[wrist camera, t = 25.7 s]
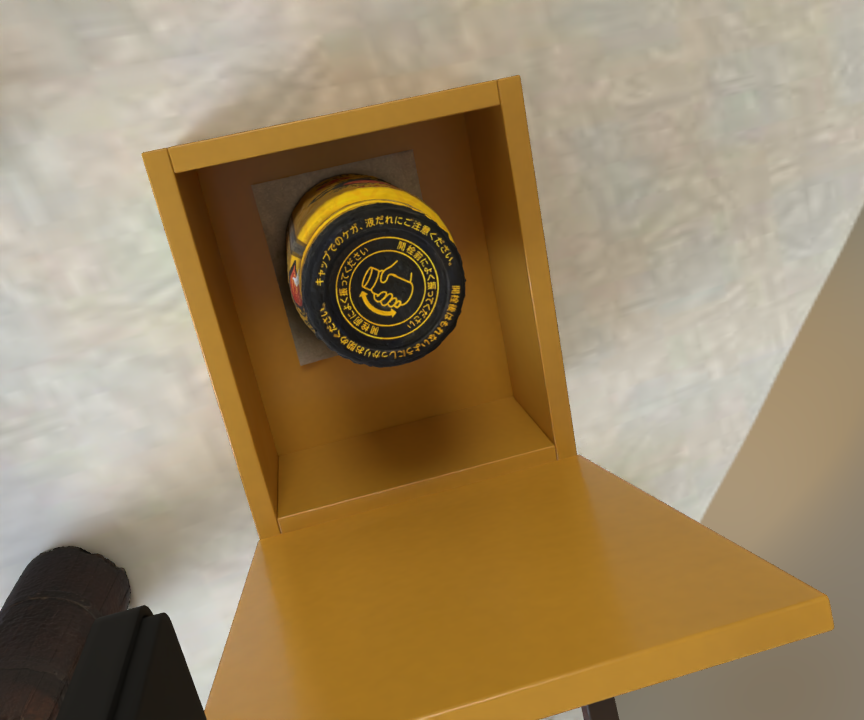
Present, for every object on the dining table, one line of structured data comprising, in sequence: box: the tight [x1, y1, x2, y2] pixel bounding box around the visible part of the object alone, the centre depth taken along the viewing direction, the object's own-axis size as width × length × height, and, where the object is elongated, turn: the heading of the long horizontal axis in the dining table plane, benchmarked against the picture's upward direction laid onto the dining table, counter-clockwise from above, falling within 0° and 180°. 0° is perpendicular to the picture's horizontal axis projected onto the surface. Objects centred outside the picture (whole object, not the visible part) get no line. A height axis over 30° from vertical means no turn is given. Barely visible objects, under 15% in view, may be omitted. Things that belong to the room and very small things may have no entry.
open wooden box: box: [142, 75, 577, 540], centre depth 33 cm, size 16×14×7 cm
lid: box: [204, 455, 834, 720], centre depth 24 cm, size 17×14×5 cm
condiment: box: [251, 149, 467, 368], centre depth 30 cm, size 7×8×12 cm
